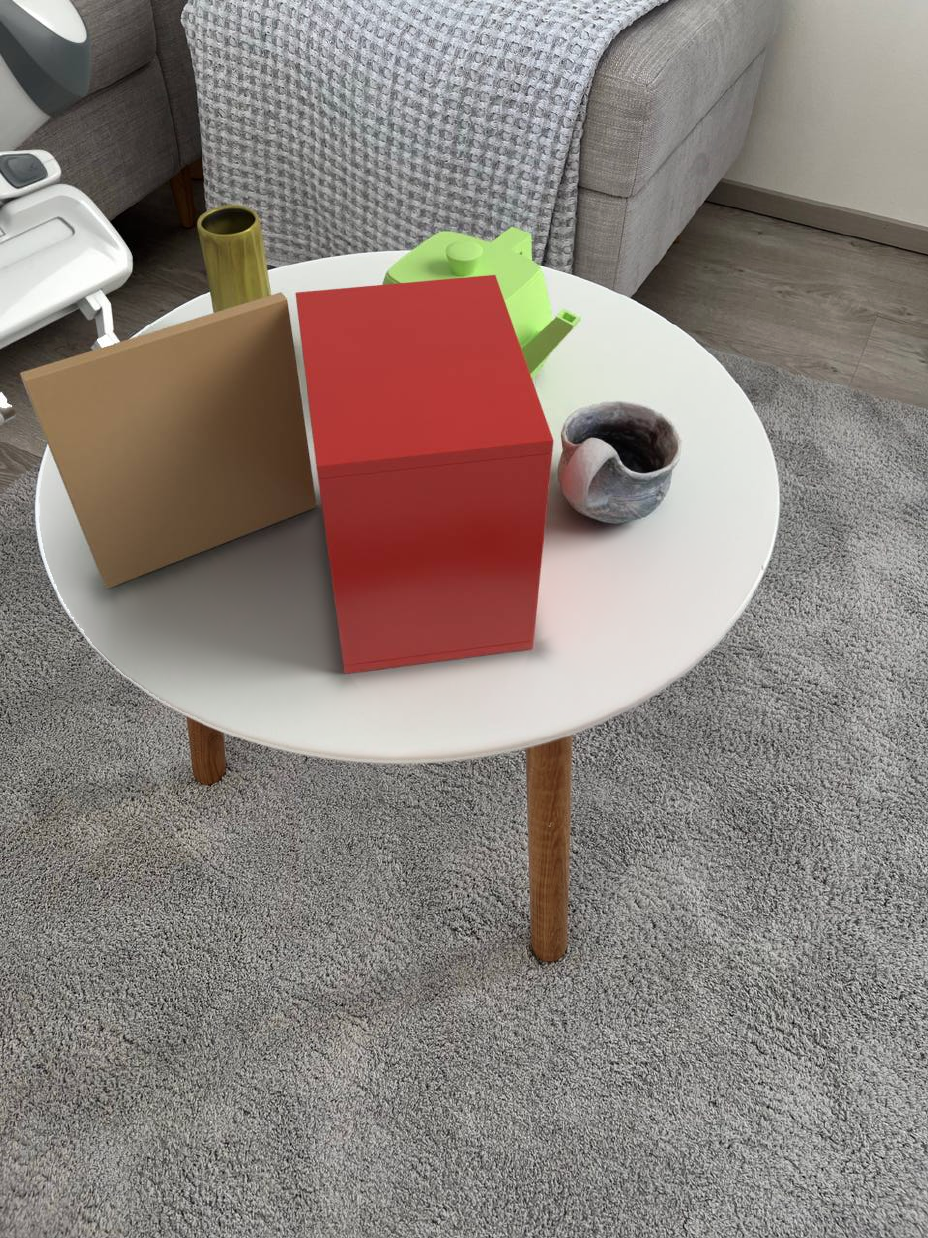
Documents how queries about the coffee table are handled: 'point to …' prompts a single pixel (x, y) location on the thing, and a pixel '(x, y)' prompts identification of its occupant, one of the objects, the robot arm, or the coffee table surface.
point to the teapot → (515, 278)
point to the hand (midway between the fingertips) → (63, 390)
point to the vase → (233, 256)
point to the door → (179, 436)
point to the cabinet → (426, 469)
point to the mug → (617, 460)
